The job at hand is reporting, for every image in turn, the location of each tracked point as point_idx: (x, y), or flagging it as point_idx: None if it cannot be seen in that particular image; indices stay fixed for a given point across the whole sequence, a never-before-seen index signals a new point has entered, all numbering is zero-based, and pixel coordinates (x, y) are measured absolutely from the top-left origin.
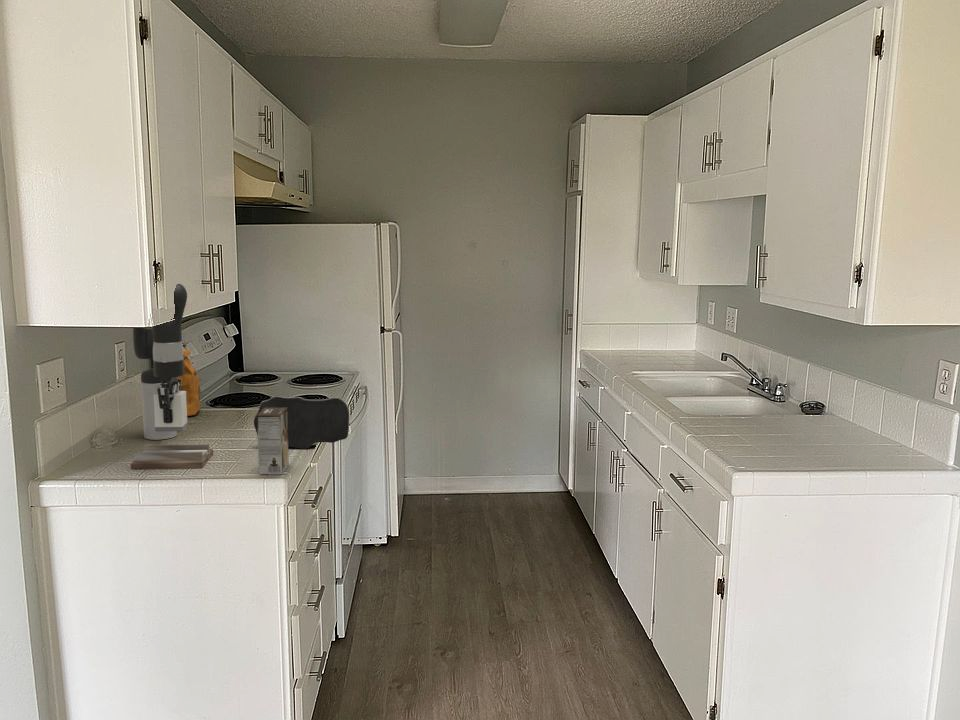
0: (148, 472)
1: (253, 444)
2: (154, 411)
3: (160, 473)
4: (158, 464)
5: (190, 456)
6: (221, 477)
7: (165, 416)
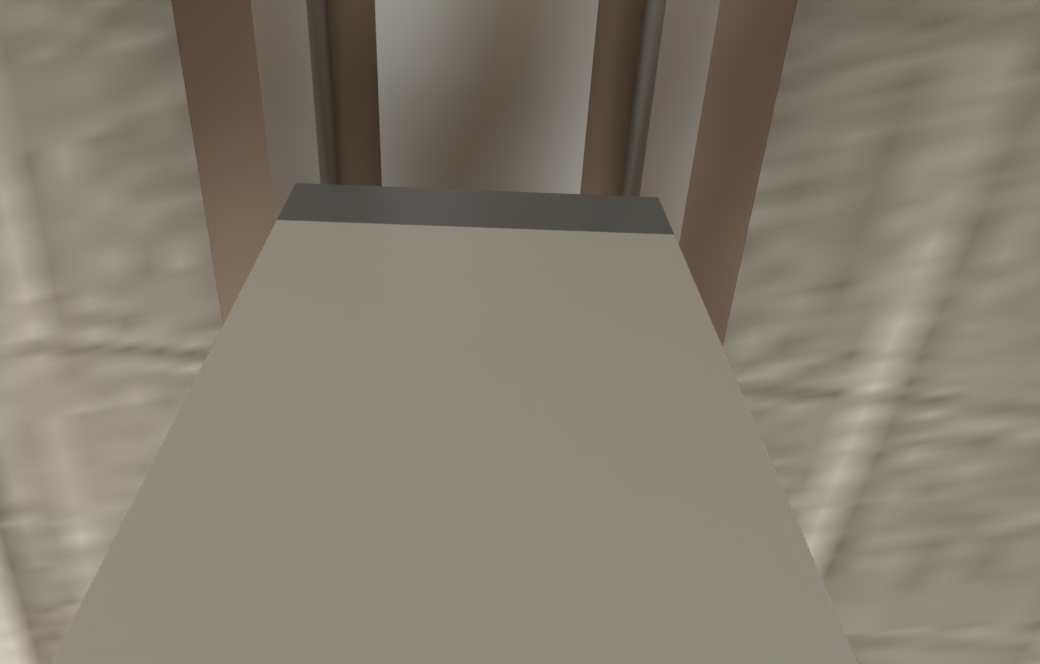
0: (68, 6)
1: (901, 654)
2: (164, 444)
3: (55, 146)
4: (192, 106)
5: None
6: (40, 594)
7: None
